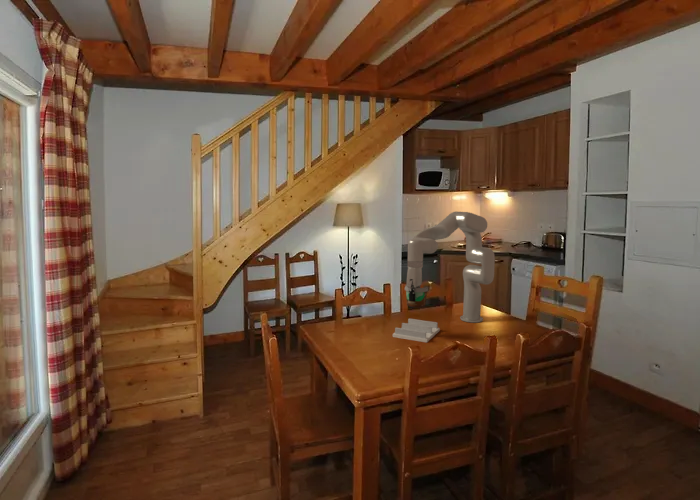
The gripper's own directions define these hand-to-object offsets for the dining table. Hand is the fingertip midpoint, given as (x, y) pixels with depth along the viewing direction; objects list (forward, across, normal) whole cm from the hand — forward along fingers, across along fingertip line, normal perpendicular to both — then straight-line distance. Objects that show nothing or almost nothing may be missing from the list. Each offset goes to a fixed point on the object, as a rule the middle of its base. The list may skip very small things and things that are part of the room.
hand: (414, 299), depth 226 cm
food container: (+4, 0, 0) cm, 4 cm away
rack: (+19, -4, 0) cm, 20 cm away
